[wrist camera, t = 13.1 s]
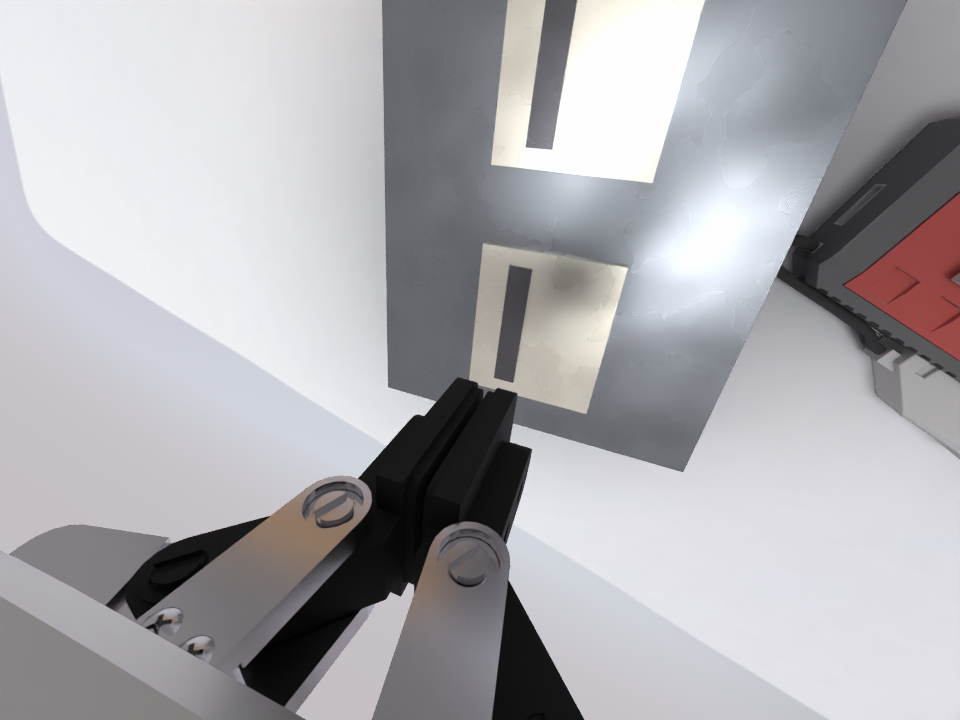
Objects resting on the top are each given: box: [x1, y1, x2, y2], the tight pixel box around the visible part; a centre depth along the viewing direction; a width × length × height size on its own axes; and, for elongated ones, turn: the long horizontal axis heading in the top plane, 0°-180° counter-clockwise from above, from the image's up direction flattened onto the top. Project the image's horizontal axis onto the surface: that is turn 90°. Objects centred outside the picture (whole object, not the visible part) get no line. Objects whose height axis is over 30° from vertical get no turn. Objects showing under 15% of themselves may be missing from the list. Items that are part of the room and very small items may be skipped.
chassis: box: [382, 0, 907, 472], centre depth 16 cm, size 16×20×4 cm
